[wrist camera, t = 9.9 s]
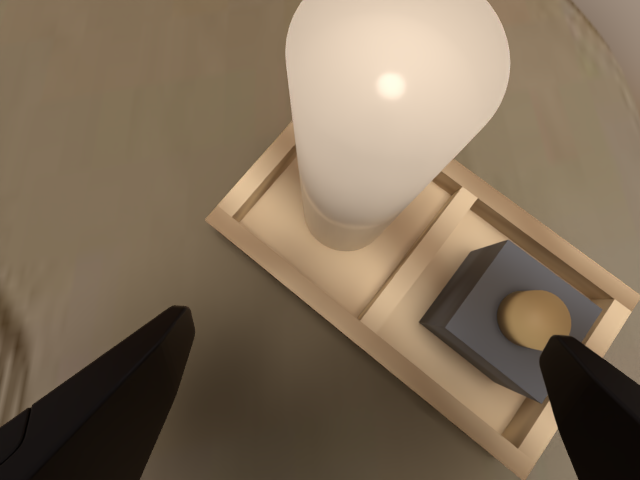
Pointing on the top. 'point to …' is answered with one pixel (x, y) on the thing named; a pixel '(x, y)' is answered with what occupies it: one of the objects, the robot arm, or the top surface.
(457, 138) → the candle
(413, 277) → the organizer
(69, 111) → the top surface
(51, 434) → the robot arm
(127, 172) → the top surface
